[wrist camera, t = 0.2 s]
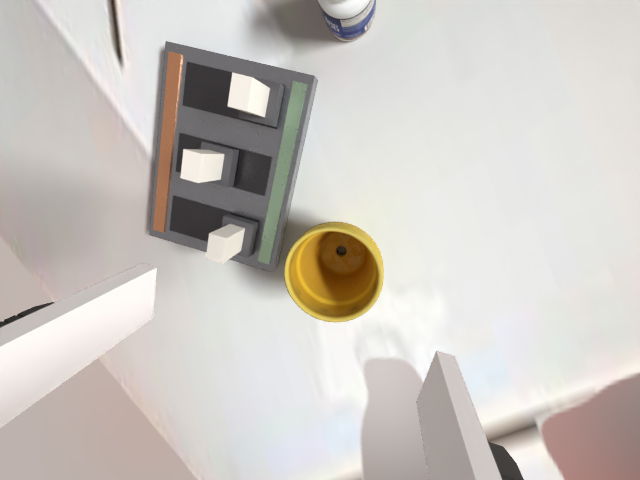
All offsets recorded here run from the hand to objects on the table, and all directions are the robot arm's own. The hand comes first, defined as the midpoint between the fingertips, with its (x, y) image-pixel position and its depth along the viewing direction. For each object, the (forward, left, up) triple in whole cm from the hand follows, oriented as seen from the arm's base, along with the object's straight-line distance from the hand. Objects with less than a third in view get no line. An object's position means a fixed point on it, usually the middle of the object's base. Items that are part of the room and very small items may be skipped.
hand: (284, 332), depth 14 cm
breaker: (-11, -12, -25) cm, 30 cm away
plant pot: (+4, +1, -27) cm, 28 cm away
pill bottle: (-22, -5, -27) cm, 35 cm away
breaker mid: (-3, -16, -25) cm, 30 cm away
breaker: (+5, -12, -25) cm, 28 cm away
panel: (-3, -16, -27) cm, 32 cm away
